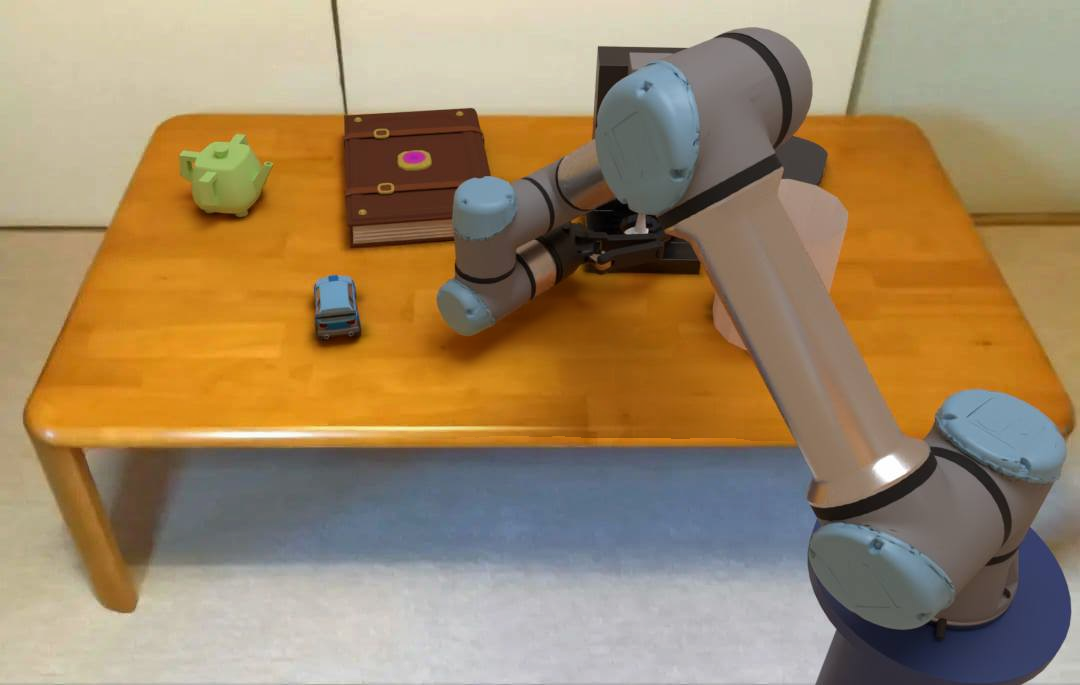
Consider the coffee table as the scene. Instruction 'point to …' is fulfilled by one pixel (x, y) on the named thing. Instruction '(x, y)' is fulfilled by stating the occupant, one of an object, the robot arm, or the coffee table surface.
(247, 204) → the teapot
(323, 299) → the toy car
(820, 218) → the container
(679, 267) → the drip pan
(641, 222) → the chess piece
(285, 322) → the coffee table surface
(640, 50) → the column
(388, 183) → the book
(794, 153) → the media streaming box
